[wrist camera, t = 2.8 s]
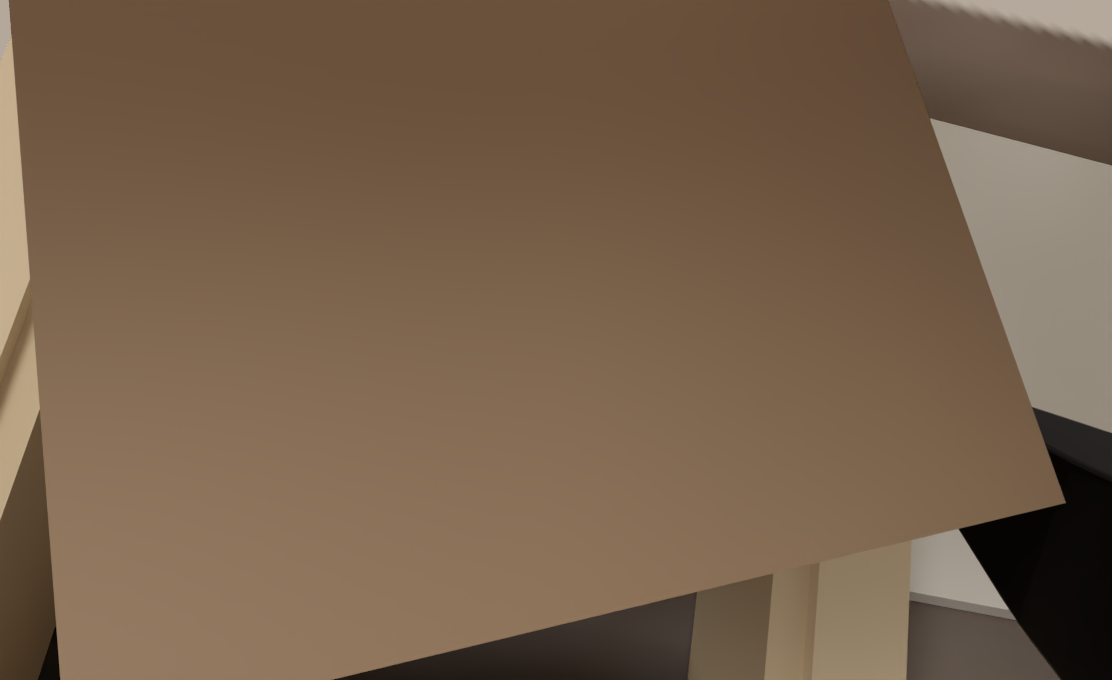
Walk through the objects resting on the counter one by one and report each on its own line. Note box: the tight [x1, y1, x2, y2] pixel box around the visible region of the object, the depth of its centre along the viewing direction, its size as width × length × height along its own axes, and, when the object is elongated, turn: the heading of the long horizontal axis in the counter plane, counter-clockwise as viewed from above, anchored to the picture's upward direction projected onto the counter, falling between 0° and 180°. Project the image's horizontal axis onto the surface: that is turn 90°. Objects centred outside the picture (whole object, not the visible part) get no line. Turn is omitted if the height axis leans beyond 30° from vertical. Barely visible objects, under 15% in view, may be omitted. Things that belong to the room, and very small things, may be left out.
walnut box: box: [9, 0, 1066, 680], centre depth 10 cm, size 4×4×13 cm
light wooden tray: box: [0, 36, 912, 680], centre depth 15 cm, size 12×15×4 cm
